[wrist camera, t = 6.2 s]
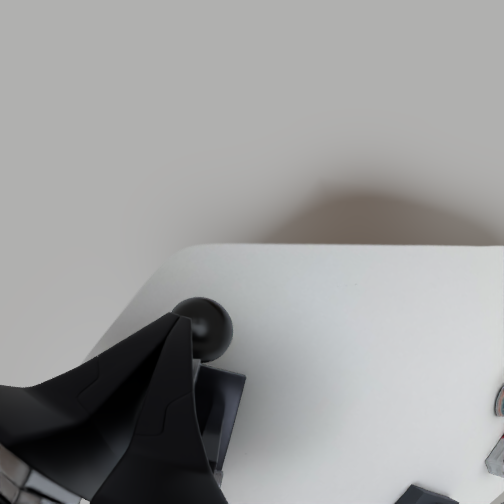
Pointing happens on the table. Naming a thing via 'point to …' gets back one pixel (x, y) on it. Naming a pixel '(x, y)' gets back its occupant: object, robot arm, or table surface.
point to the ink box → (497, 459)
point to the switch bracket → (217, 412)
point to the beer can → (500, 403)
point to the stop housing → (423, 497)
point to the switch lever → (206, 329)
